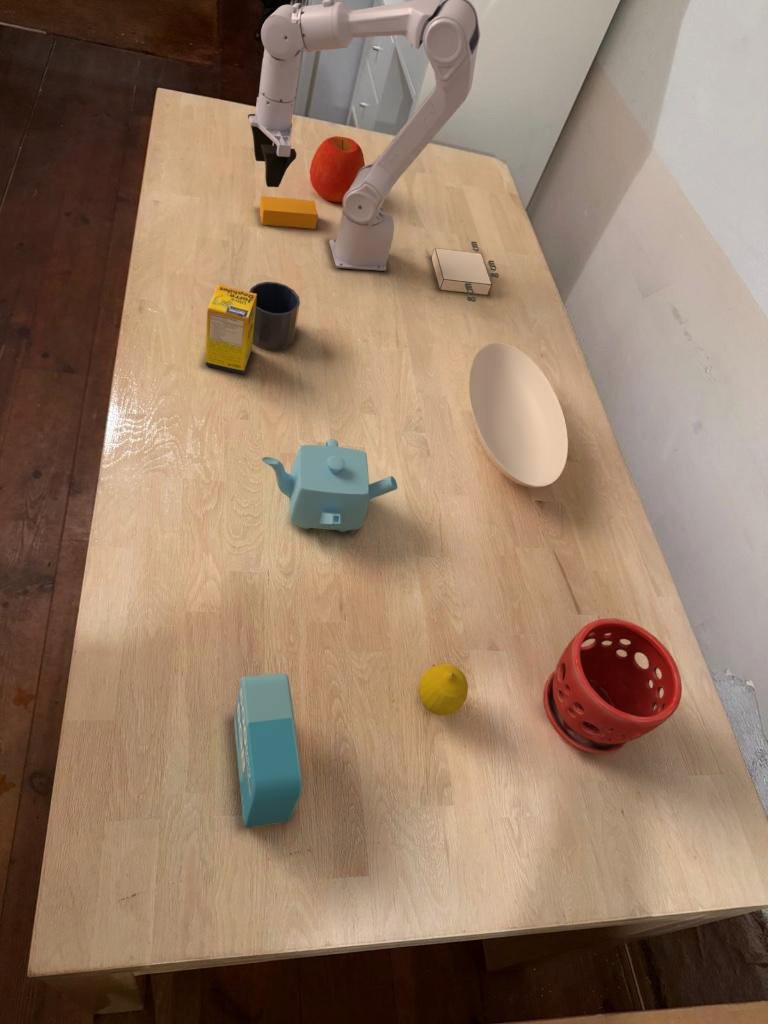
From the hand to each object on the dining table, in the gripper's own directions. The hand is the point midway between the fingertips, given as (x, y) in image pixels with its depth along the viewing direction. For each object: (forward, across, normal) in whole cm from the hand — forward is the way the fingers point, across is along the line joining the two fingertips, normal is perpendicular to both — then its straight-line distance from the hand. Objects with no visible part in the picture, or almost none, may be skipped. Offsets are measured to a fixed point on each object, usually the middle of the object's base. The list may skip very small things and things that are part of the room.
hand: (266, 172), depth 129 cm
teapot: (+9, +66, -8) cm, 67 cm away
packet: (+10, -1, +6) cm, 11 cm away
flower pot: (+8, +100, +15) cm, 102 cm away
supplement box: (+10, +34, -14) cm, 38 cm away
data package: (+9, +97, -25) cm, 100 cm away
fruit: (+9, +95, -3) cm, 95 cm away
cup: (+10, +30, -6) cm, 32 cm away
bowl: (+9, +56, +25) cm, 62 cm away
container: (+9, +17, +35) cm, 40 cm away
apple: (+10, -10, +18) cm, 23 cm away
